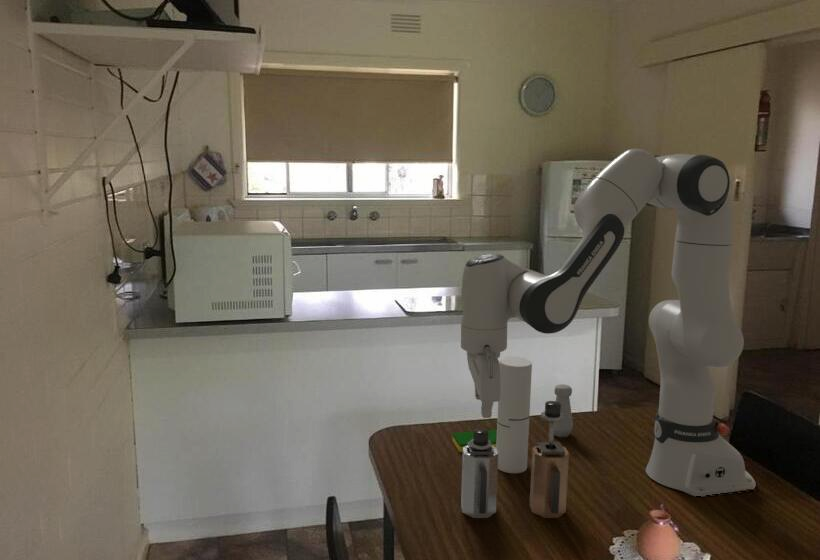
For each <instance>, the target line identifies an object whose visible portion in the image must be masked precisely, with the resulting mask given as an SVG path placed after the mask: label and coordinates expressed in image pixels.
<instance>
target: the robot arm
mask: <svg viewBox="0 0 820 560" xmlns="http://www.w3.org/2000/svg"><path fill="white" fill-rule="evenodd" d="M730 181H731V180H730V174H729V170H728V168H727V166H726V165H725V163H724V162H723V161H721V160H720V159H719V158H716V157H714V156H711V155H706V154H697V155H696V154H691V153H690V154H689V153H674V154H666V155H653V154H652V153H651V152H649V151H647V150H645V149H642V148H630V149H627V150H625V151H623V152H622V153H621V154H620V155H617V157H615V158H614V159H613V160H611V162H609V163H608V164H606V166H605V167H604V168H602V170H600V171H599V172H598V173H597V175H595V176H594V178H593V179H591V181H590V182H589V183H588V184H587V185H586V186H585V187H584V188H583V190H582V191H581V193H580V194H579V195H578V197H577V198H576V200H575V202H574V208H573V210H574V211H573V212H574V219H575V221H576V223H577V225H578V226H579V228H580V229H581V230H582V237H581V240H580V241H579V243H578V245H577V246H576V247H575V249H574V250H573V251H572V252H571V253H570V255H569V256H568V258H567V259H566V260H565V262H564V263H563V265H561V267H560V269H558V270H557V271H555V272H554V273H552V274H549V275H545V274H543V273H541V272H539V271H535V270H533V269H529V268H526V267H523V266H521V265H519V264H516V263H514V262H512V261H510V260H509V259H507V258H506V257H505V255H502V254H500V253H484V254H483V253H482V254H480V255H477V256H473V257H472V258H470V259H469V260H467V262H465V265H464V268H463V272H462V279H461V293H460V294H461V296H460V301H461V306H462V317H461V320H460V348H461V349H462V350H463V351H465V352H466V356H467V359H466V360H467V364H468V370H469V372H470V376H471V378H472V380H473V383H474V384H473V385H474V397H475V399H476V400H478V401H479V400H480V401H481V407H480V410H481V412H480V414H481V417H482V418H484V419H490V418H492V413H493V412H492V409H493V405H494V402H495V403H498V401H499V400H500V359H499V358H500V357H501V353H502V352H504V351H506V349H507V348H508V322H509V320H510V319H512V318H516V319H517V320H521V321H523V322H524V323H526V324H527V325H529V326H530V327H531V328H533V330H535V331H537V332H539V333H542V334H548V335H549V334H556V333H558V332H561V331H562V330H564V329H566V328H567V327H568V326H569V325H570V324H571V323H573V321H574V319H575V317H576V315H577V314H578V311H579V309H580V306H581V303H582V301H583V299H584V297H585V295H586V293H588V290H589V289H590V288H591V286H592V285H593V284H594V283H595V280H596V279H597V278H598V277H599V275H600V274H601V273H602V271H603V269H605V267H606V266H607V264H608V263H609V261H610V260H611V259H612V257H613V256H614V254H615V253H616V251H617V250H618V248H619V246H620V245H621V243H622V241H623V239H624V235H625V231H626V230H627V227H628V226H629V224H631V223H632V221H633V220H634V218H635V217H637V215H638V214H639V213H640V212H641V211H642V210H643V208H644V207H646V206H649V207H658V208H662V209H667V210H674V211H675V212H676V216H677V224H676V230H675V236H674V244H673V245H674V247H673V254H672V255H673V256H672V264H671V279H672V281H673V284H674V285H675V287H676V291H677V294H678V299H666V300H662V301H661V302H658V303H657V304H656V305H655V306H653V308H652V309H651V311H650V313H649V316H648V326H649V330H650V332H651V334H652V337H653V340H654V342H655V346H656V347H655V348H656V353H657V360H658V361H657V362H658V366H659V372H660V373H659V375H660V376H659V377H660V387H659V400H658V401H659V402H658V410H657V411H656V413H655V420H654V421H655V422H654V428H653V429H654V442H653V446H652V451H651V454H650V457H649V460H648V463H647V465H646V468H645V473H646V474H647V476H648V477H649V478H650V479H652V481H653V480H654V482H656V483H658V484H661V485H662V486H665V487H668V488H671V489H674V490H677V491H682V492H684V493H686V494H688V495H691V496H693V497H696V496H701V497H707V496H706V495H710V496H713V495H712V494H719V495H721V494H720V493H727V492H734V491H740V490H746V489H754V488H755V487H757V486H756V480H755V479H754V478H753V476H752V475H751V474H750V473H749V472H748V471H747V470H746V467H745V466H746V465H745V460H744V458H743V456H742V454H741V453H740V452H739V451H738V449H736V448H735V447H734V446H733V445H732V444H730V442H728V441H727V439H724V438H723V437H722V436H721V435H723V436H727V435H728V434H730V428H729V426H727V425H726V424H725V423H723V422H722V423H720V421H719V420H718V419H716V418H714V409H715V408H714V406H715V396H716V383H715V380H714V379H713V377H712V375H711V373H710V369H709V367H715V368H723V367H728V366H730V365H732V364H733V363H735V362H736V361H737V360H738V358H739V357H740V356H741V354H742V352H743V350H744V344H745V342H744V341H745V339H744V334H743V332H742V330H741V328H739V325H738V324H737V321H736V319H735V316H734V311H733V308H732V301H731V294H730V286H729V284H730V283H729V277H730V276H729V274H730V264H731V254H732V246H733V239H734V237H733V236H734V212H733V203H732V200H731V197H730V196H729V191H730V186H731V185H730V183H731V182H730ZM719 433H720V434H721V435H720V434H719Z"/></svg>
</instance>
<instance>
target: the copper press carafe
mask: <svg viewBox="0 0 820 560" xmlns="http://www.w3.org/2000/svg"><path fill="white" fill-rule="evenodd" d="M548 446H549V441H536V445H534V446H532V447H531V448H532V449H531V467H530V470H531V471H530V487H529V489H530V491H529V508H530V511H531V513H533V514H535V515H536V516H537V515H538V516H540V517H542V518H544V519H545V518H546V519H556V518H557V519H559V518H560V517H561V516H563V515H564V514H565V513H567V512H566V511H567V498H568V497H567V495H568V480H569V466H570V465H569V464H570V463H569V461H570V453H569V451H568V450H567V448H566V447H565V446H563V445H562V444H561V442H560V441H553V449H548Z"/></svg>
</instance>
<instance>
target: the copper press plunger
mask: <svg viewBox="0 0 820 560" xmlns="http://www.w3.org/2000/svg"><path fill="white" fill-rule="evenodd" d="M540 418H541V419H543V420H545V421H547V422H549V429H548V431H549V432H548V442H549V446H548V449H553V442H554V437H555V435H554V422H558V421H562V420H563V419H564V415H563V414H562V413H561V403H559V402H556V400H547V401H545V403H544V411H542V412H541V413H540Z"/></svg>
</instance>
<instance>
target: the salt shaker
mask: <svg viewBox="0 0 820 560" xmlns="http://www.w3.org/2000/svg"><path fill="white" fill-rule="evenodd" d="M554 394H555V396H556V397H555V401H556V402H559V403H561V413H562V414H563V415H564V419H563V420H562V421H558V422H554V437H558V438H567V437H568V436H570V434H571V433H572V430H573V428H574V423H573V415H572V408H571V398H570V397H571V396H572V394H573V389H572V387H571V386H570V385H567V384H557V385H555V388H554Z"/></svg>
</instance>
